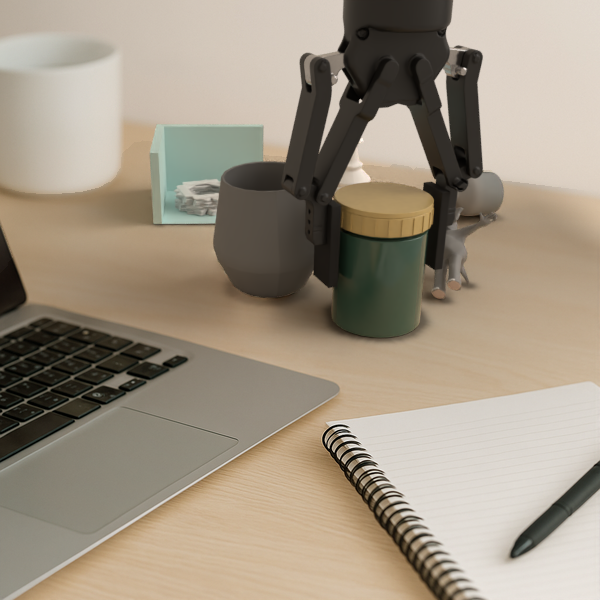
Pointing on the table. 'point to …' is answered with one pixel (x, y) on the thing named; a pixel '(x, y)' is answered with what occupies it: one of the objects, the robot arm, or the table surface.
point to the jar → (379, 284)
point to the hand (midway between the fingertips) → (378, 271)
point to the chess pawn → (354, 171)
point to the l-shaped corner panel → (197, 167)
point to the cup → (261, 232)
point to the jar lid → (385, 209)
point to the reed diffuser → (481, 195)
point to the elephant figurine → (456, 254)
